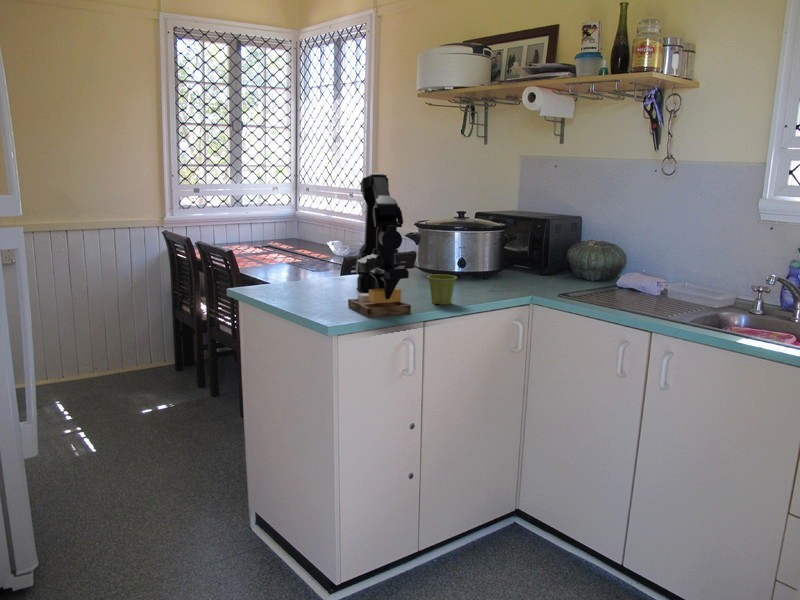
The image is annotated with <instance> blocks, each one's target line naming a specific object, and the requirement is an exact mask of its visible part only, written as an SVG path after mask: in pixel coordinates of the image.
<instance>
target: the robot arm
mask: <svg viewBox="0 0 800 600" xmlns="http://www.w3.org/2000/svg"><path fill="white" fill-rule="evenodd" d="M389 183H390V182H389V178H388V177H387V174H385V173H371V174H369V175H368V176H366V177H363V178H362V180H361V181H360V192H361V193H362V194H361V195H362V197H363V200H364V201H365V203H366V205H365V206H366V208H365V224H364V225H365V227H364V241H363V242H364V243H363V245H362V246H361V247H360V249H359V253H358V256H356V264H355V273H356V274H357V275H358V276H357V281H356V286H357V287H356V290H358V291H360V292H361V293H369V289H382V288H385V297H386V299H390V297H391V295H392V293H393V291H394V289H395V287H396V288H397V285H398V283H399V281H400V280H402V279H409V278H410V276H409V275H410V271H409V270H408V269H407V267H404V266H403V267H402V266H399V263H396V254H399V248H400V247H401V245H402V243H403V237H402V235H401V233H400V232H399V231H398V229H397V228H403V223H404V220H403V219H404V218H403V213H402V209H401V207H400V206H399V204H398V202H397V199H395V198H392V197H391V193H390V188H389V187H390V186H389V185H390V184H389Z"/></svg>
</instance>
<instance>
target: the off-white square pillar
mask: <svg viewBox="0 0 800 600" xmlns="http://www.w3.org/2000/svg"><path fill="white" fill-rule="evenodd" d="M357 299H358V303H364V302H370V301H369V292H363V293H357Z"/></svg>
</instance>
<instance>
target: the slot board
mask: <svg viewBox="0 0 800 600" xmlns="http://www.w3.org/2000/svg"><path fill="white" fill-rule="evenodd" d="M347 300H348V301H347V307H348V306H349V307H350V308H349V307H348V308H349V309H351V308H352V309H351V310H353V309H354V311H355V310H356V312H357V311H358V313H359V312H360V313H359V314H361V313H362V315H363V314H364V315H363V316H366V317H367V318H372V317H382V316H393V315H404V314H411V313H412V311H411V310H412V309H411V307H412V305H411V304H409V303H407V302H404V301H402V300H401V301H395V302H384V303H372V302H364V303H358V298H348V299H347Z"/></svg>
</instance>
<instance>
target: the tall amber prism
mask: <svg viewBox="0 0 800 600" xmlns="http://www.w3.org/2000/svg"><path fill="white" fill-rule="evenodd" d="M368 293H369V301H370V302H372V303H384V302H395V301H402V289H401V288H398V287H397V286H396V287H395V289H394V291H393V293H392V295H391V297H390V299H386V297H385V288H382V289H369V292H368Z"/></svg>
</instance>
